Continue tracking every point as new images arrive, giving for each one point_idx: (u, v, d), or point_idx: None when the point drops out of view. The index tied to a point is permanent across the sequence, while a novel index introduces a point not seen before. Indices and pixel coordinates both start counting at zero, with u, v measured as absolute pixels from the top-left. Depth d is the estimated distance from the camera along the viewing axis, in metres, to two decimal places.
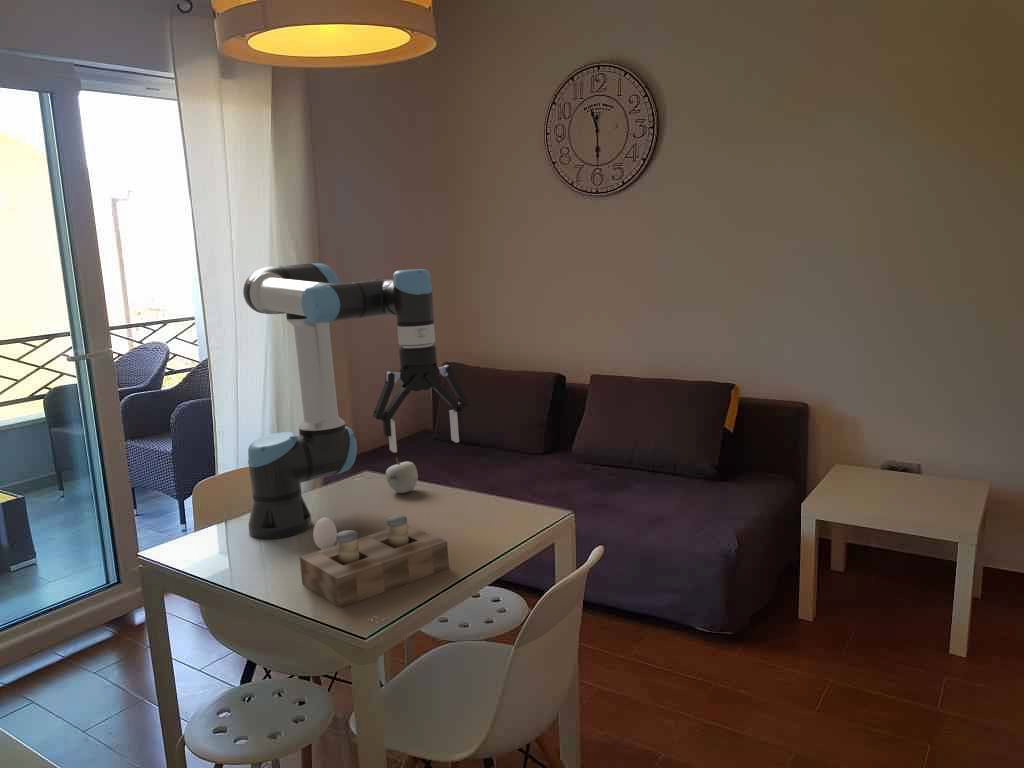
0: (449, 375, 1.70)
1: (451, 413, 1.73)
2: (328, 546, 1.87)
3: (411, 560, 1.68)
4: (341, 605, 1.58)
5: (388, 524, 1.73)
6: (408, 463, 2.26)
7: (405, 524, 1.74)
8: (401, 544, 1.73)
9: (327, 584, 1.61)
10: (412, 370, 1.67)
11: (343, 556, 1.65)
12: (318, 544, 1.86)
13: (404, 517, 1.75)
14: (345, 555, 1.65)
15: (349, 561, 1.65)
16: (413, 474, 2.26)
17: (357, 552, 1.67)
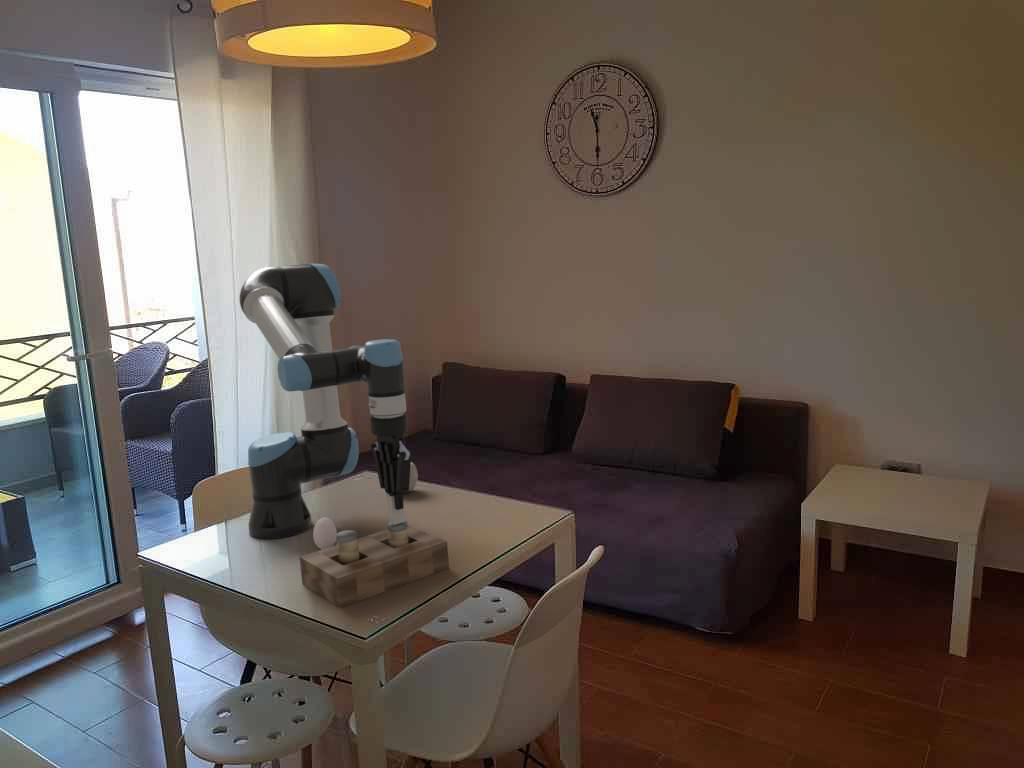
0: (399, 459, 1.67)
1: None
2: (328, 546, 1.87)
3: (411, 560, 1.68)
4: (341, 605, 1.58)
5: (388, 529, 1.73)
6: None
7: (405, 529, 1.74)
8: None
9: (327, 584, 1.61)
10: None
11: (343, 556, 1.65)
12: (318, 544, 1.86)
13: (404, 522, 1.75)
14: (345, 555, 1.65)
15: (349, 561, 1.65)
16: (413, 474, 2.26)
17: (357, 552, 1.67)
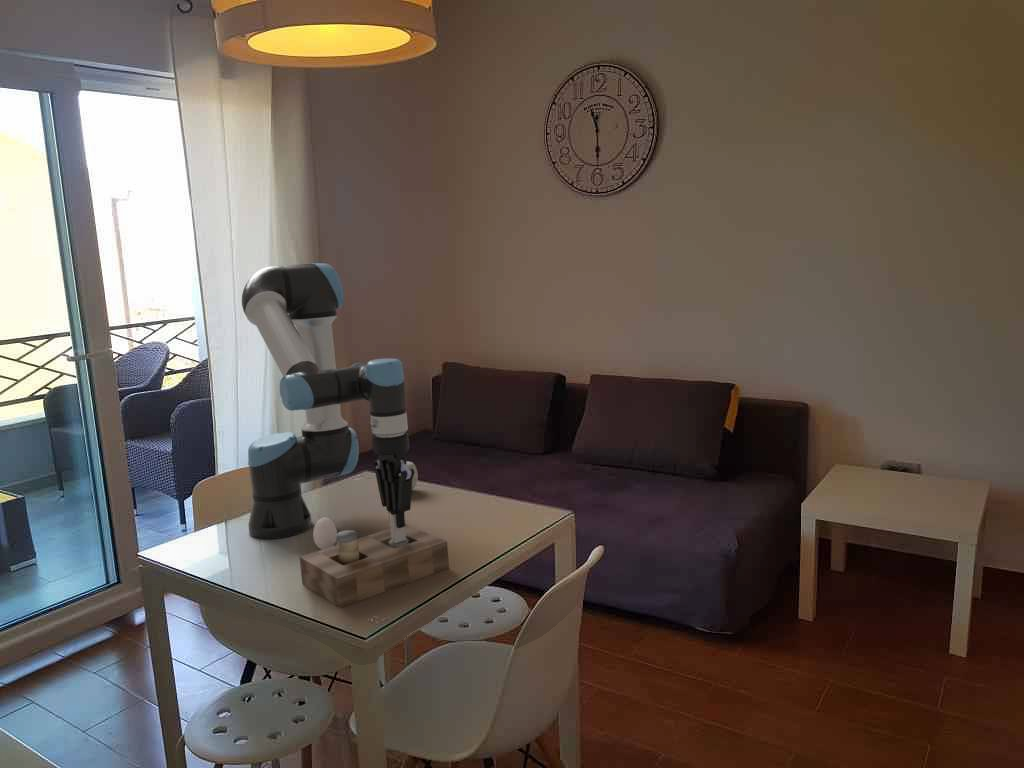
0: (400, 478, 1.68)
1: None
2: (328, 546, 1.87)
3: (411, 560, 1.68)
4: (341, 605, 1.58)
5: None
6: (408, 463, 2.26)
7: None
8: None
9: (327, 584, 1.61)
10: None
11: (343, 556, 1.65)
12: (318, 544, 1.86)
13: (406, 540, 1.76)
14: (345, 555, 1.65)
15: (349, 561, 1.65)
16: None
17: (357, 552, 1.67)
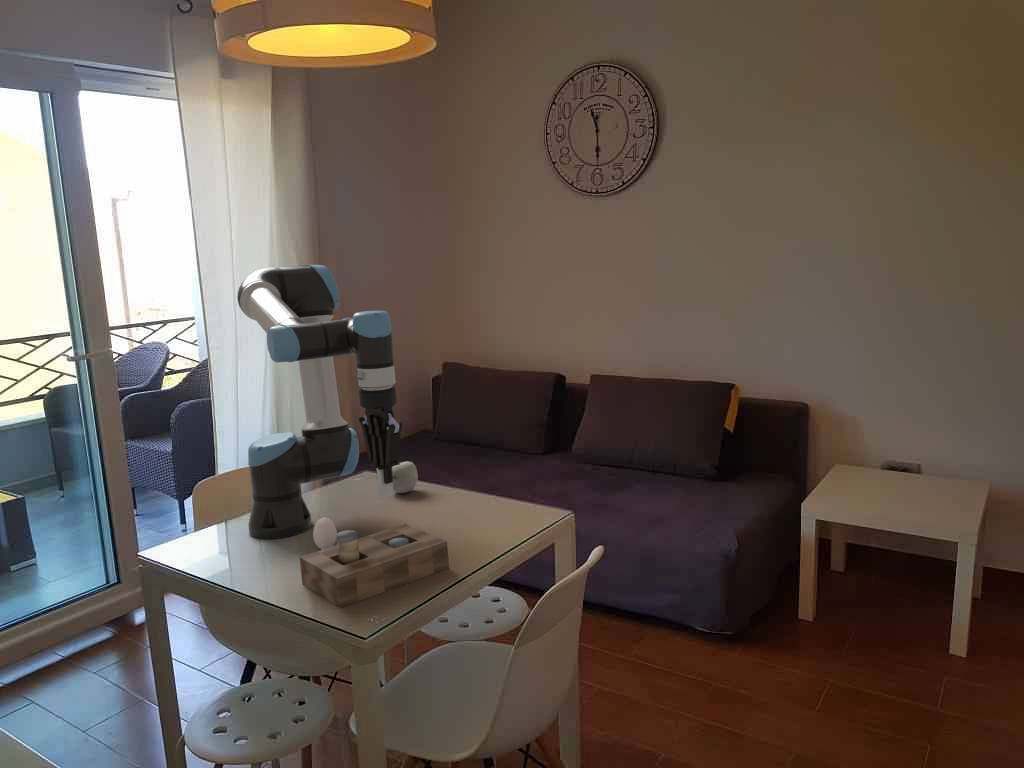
0: (388, 431, 1.65)
1: None
2: (328, 546, 1.87)
3: (411, 560, 1.68)
4: (341, 605, 1.58)
5: None
6: (408, 463, 2.26)
7: None
8: None
9: (327, 584, 1.61)
10: None
11: (343, 556, 1.65)
12: (318, 544, 1.86)
13: (406, 540, 1.76)
14: (345, 555, 1.65)
15: (349, 561, 1.65)
16: (413, 474, 2.26)
17: (357, 552, 1.67)
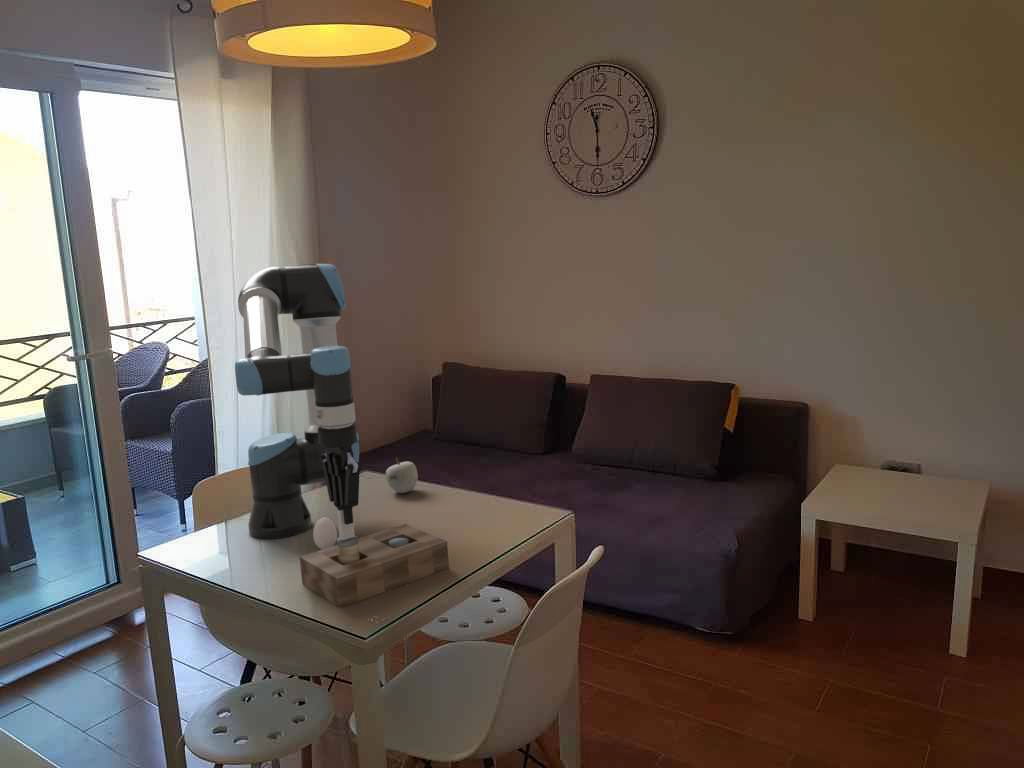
0: (346, 471, 1.60)
1: None
2: (328, 546, 1.87)
3: (411, 560, 1.68)
4: (341, 605, 1.58)
5: None
6: (408, 463, 2.26)
7: None
8: None
9: (327, 584, 1.61)
10: None
11: (344, 561, 1.65)
12: (318, 544, 1.86)
13: (406, 540, 1.76)
14: (345, 559, 1.65)
15: None
16: (413, 474, 2.26)
17: (357, 557, 1.67)
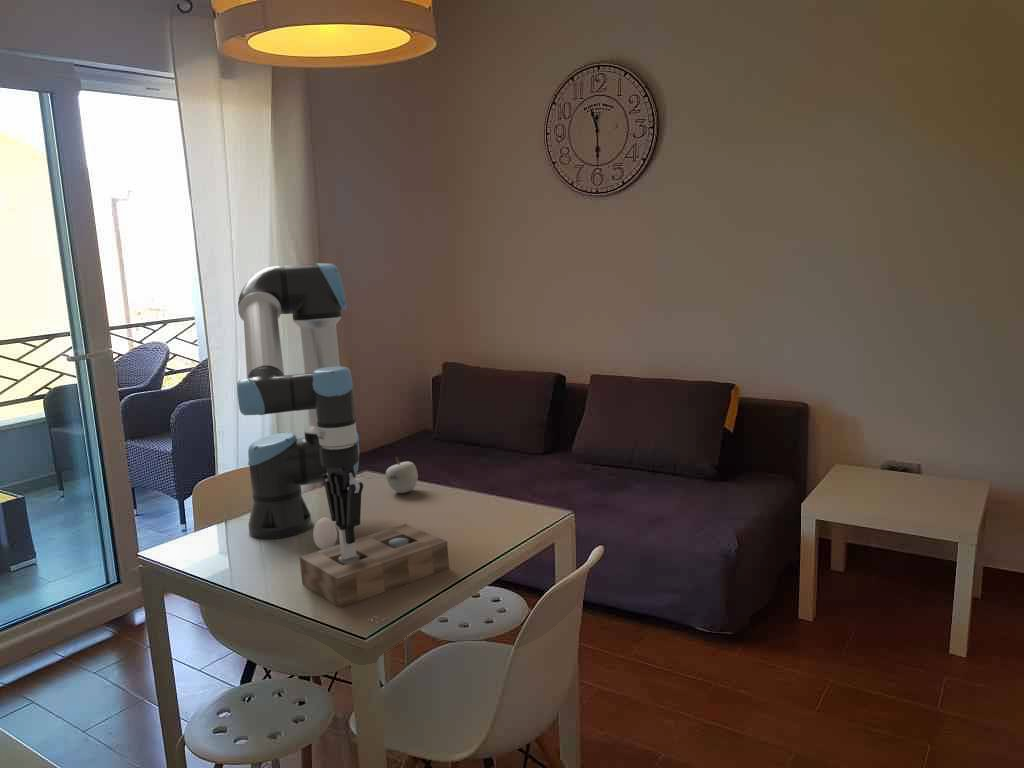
0: (348, 492, 1.60)
1: None
2: (328, 546, 1.87)
3: (411, 560, 1.68)
4: (341, 605, 1.58)
5: None
6: (408, 463, 2.26)
7: None
8: None
9: (327, 584, 1.61)
10: None
11: None
12: (318, 544, 1.86)
13: (406, 540, 1.76)
14: None
15: None
16: (413, 474, 2.26)
17: None
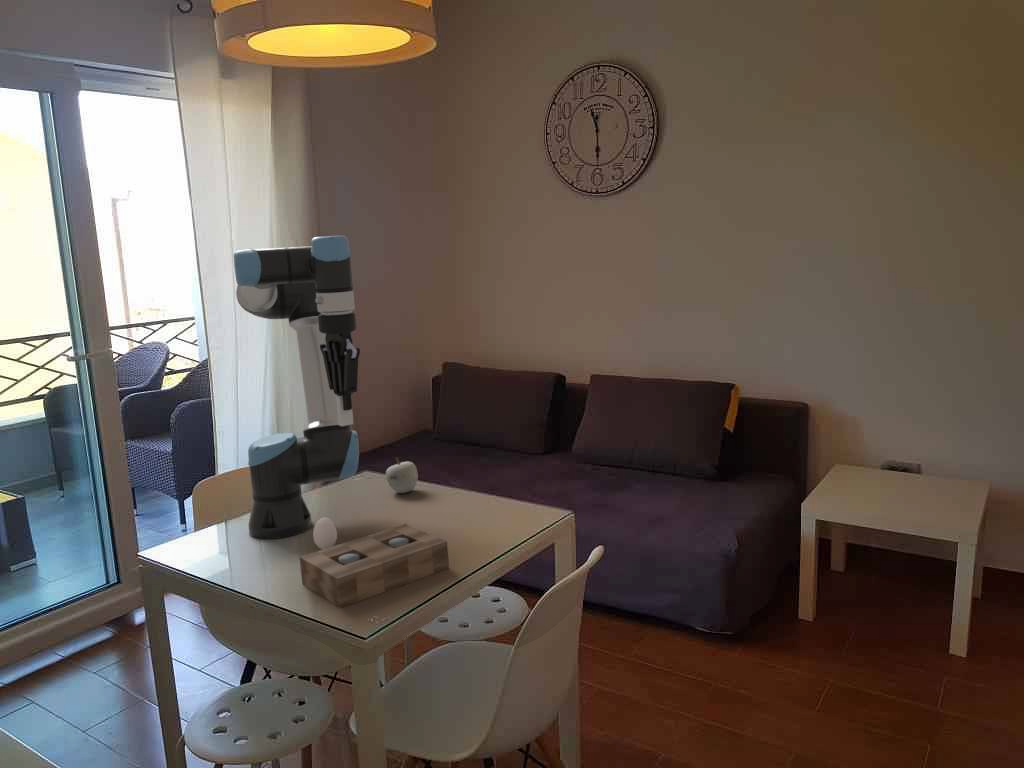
0: (345, 356, 1.65)
1: None
2: (328, 546, 1.87)
3: (411, 560, 1.68)
4: (341, 605, 1.58)
5: None
6: (408, 463, 2.26)
7: None
8: None
9: (327, 584, 1.61)
10: None
11: None
12: (318, 544, 1.86)
13: (406, 540, 1.76)
14: None
15: None
16: (413, 474, 2.26)
17: None
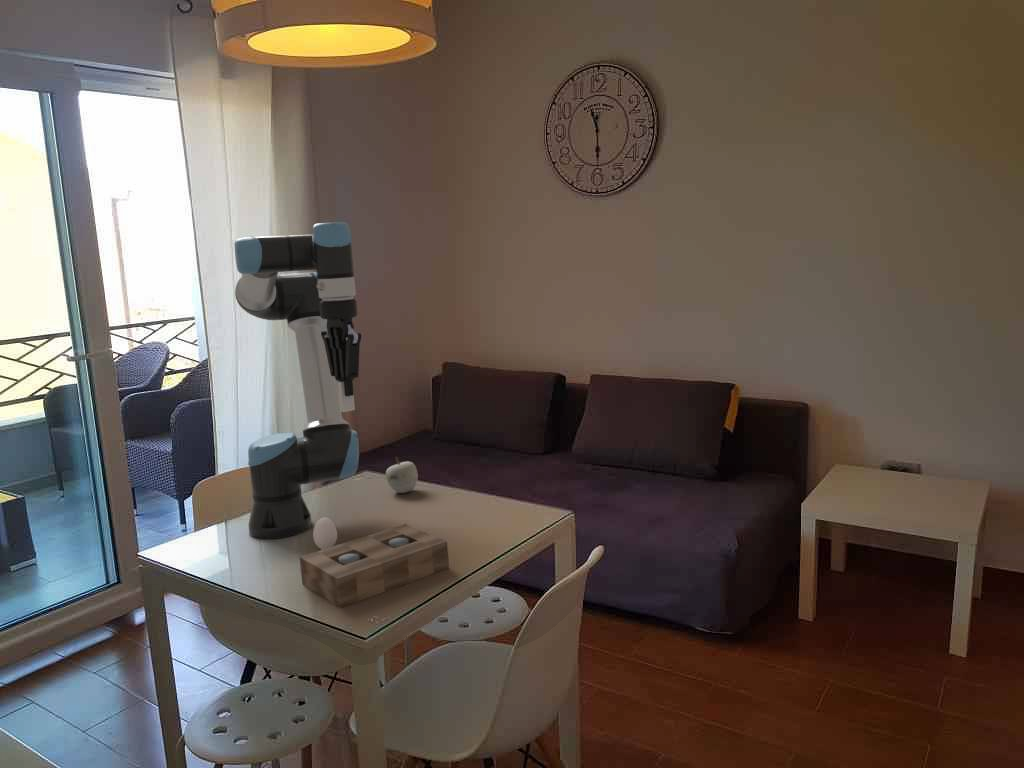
0: (347, 342, 1.66)
1: None
2: (328, 546, 1.87)
3: (411, 560, 1.68)
4: (341, 605, 1.58)
5: None
6: (408, 463, 2.26)
7: None
8: None
9: (327, 584, 1.61)
10: (328, 319, 1.71)
11: None
12: (318, 544, 1.86)
13: (406, 540, 1.76)
14: None
15: None
16: (413, 474, 2.26)
17: None
